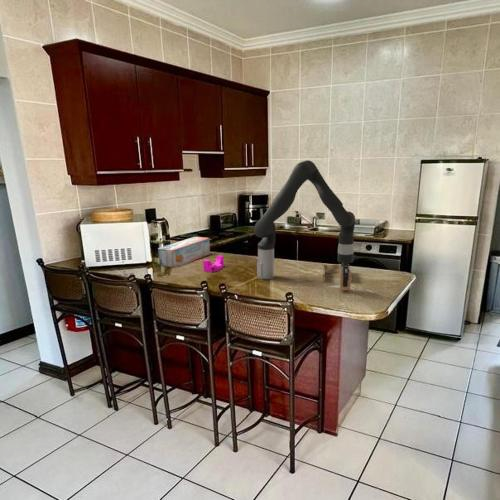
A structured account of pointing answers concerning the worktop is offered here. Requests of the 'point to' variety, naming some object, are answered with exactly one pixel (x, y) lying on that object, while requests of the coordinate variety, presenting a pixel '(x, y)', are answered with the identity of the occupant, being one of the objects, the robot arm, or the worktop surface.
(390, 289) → the worktop surface
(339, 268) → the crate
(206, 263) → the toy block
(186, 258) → the soda box
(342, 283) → the block
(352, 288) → the board
